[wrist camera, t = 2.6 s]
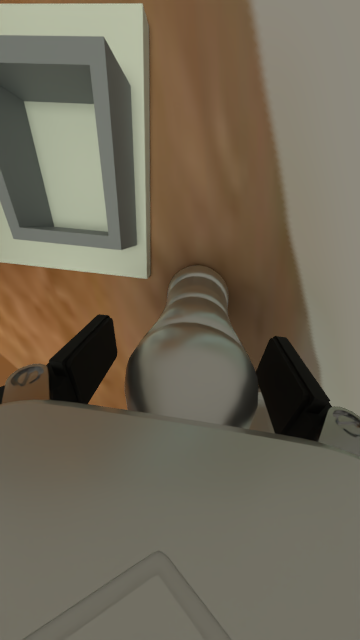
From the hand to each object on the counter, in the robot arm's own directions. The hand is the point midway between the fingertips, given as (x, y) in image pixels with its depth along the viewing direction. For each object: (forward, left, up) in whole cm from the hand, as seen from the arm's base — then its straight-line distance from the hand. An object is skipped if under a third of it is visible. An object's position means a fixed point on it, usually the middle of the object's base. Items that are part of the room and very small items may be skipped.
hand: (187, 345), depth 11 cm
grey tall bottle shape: (-1, 0, -12) cm, 12 cm away
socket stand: (+9, +17, -12) cm, 23 cm away
